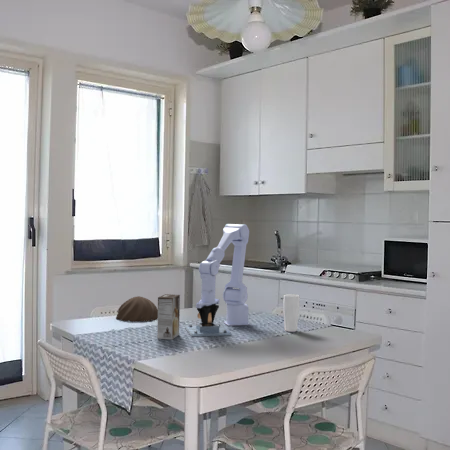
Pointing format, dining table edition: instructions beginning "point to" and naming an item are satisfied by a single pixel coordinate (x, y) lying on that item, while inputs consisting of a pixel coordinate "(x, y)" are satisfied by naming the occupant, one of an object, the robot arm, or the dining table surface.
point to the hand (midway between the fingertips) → (207, 323)
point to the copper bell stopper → (208, 319)
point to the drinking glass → (291, 311)
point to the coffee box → (168, 316)
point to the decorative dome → (137, 310)
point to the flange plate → (207, 330)
